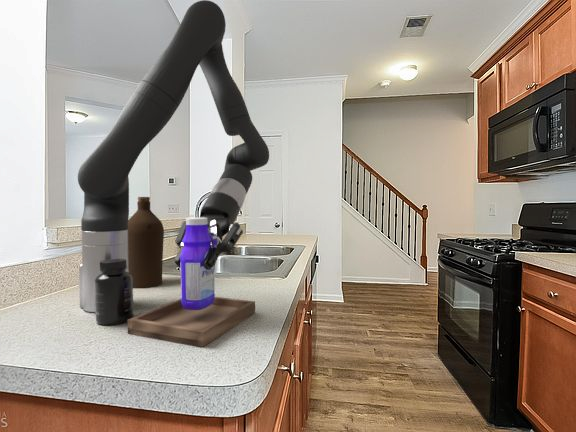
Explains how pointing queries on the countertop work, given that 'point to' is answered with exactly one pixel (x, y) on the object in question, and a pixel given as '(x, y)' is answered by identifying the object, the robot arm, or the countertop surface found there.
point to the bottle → (196, 266)
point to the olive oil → (145, 246)
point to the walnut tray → (191, 321)
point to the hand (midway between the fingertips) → (192, 266)
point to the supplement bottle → (113, 293)
